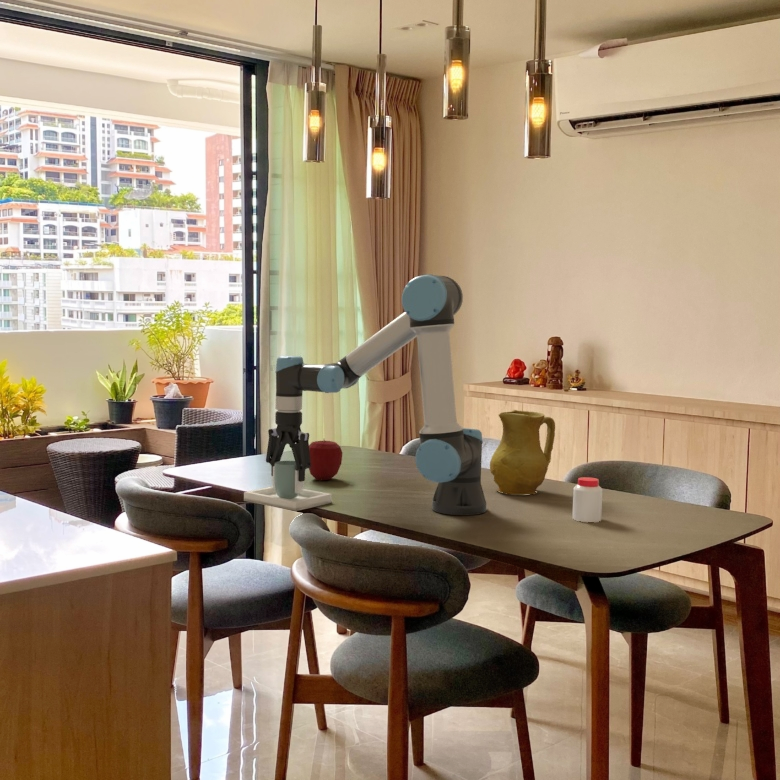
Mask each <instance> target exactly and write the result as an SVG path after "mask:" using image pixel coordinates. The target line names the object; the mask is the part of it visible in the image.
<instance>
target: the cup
mask: <svg viewBox="0 0 780 780" xmlns="http://www.w3.org/2000/svg"><path fill="white" fill-rule="evenodd" d="M296 469H297V466H296V462H295V460H280V461H278V462H275V464H274V484H275V491H276V494H277V495H278V496H279V497H280V498H285V499H292V498H295V497H297V496H298V495H299V493H295V470H296Z"/></svg>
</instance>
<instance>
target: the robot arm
mask: <svg viewBox="0 0 780 780" xmlns="http://www.w3.org/2000/svg"><path fill="white" fill-rule="evenodd" d="M463 298H464V295H463V291H462V288H461V286H460V285H459V283H458V281H455V280H454V279H453V278H451V277H449V276H445V275H435V274H423V275H419V276H415V277H414V278H412V279H410V280H409V281H408V282H407V284H406V285H405V286H404V289H403V290H402V295H401V305H402V308H403V311H404V312H403V313H401V314H400V315H398V316H397V317H395V318H394V319H393V320H392V321H391V322H389V323H388V324H387V325H385V326H384V327H382V328H381V329H380V330H379V331H377V332H376V333H374V334H373V335H372V336H370V337H369V338H368V339H366V340H365V341H363V343H361V344H360V345H358V346H356V347H355V348H354V349H353V350H352V351H350V352H348V353H347V354H346V355H345V356H343V357H342V358H341V359H339V360H338V361H336V362H332V363H325V364H309V363H304V358H303V357H302V356H301V355H300V356H297V355H280V356H278V357H277V359H276V366H275V372H274V373H275V406H274V407H275V410H276V411H275V413H274V415H275V416H274V417H275V424H276V425H277V426H276V427H275V428H269V429H268V431H267V432H268V443H267V449H266V456H265V462H266V464H269V465H270V466H271V468H270V469H271V472H270V473H271V474H270V475H271V477H272V486H273V489H275V484H274V464H275V462H278V461H282V456H283V455H284V454H283V453H284V451H285V449H286V445H289V448H290V449H291V451H292V454H293V459H294V461H295V462H296V466H297V469H296V470H295V493H301V492H303V489H304V482H305V480H306V470H307V469H309V468H310V467H311V460H310V451H309V445H310V443H309V440H310V433H309V432H303V431H302V430H301V426H302V424H303V412H302V411H301V410H303V392H307V391H308V392H317V393H318V392H319V393H325V394H331V393H333V394H334V393H335V394H336V393H339V392H340V391H341V389H349V388H351V387H353V386H355V385H356V384H357V383H359V380H360V379H361V377H363V376H364V375H365V374H367V373H368V372H369V371H371V370H372V369H374V368H375V367H377V366H378V365H379V364H381V363H382V362H384V361H385V360H386V359H388V358H389V357H391V356H392V355H393V354H394V353H397V351H399V350H400V349H402V348H403V347H404V346H406V345H407V344H409V343H410V342H412V340H414V339H416V342H417V355H418V356H417V357H418V366H419V376H420V377H419V378H420V379H419V381H420V388H421V389H420V390H421V401H422V402H421V403H422V412H423V415H422V416H423V426H422V427H421V428H420V429H419V432H418V433H419V446H418V448H417V450H416V452H415V461H414V462H415V466H416V468H417V470H418V472H419V474H420V475H422V477H424V479H427V481H430V482H433V483H437V485H436V488H435V491H434V494H433V496H432V497H433V498H432V501H431V509H432V511H434V512H436V513H439V514H443V515H452V516H475V515H480V514H484V513H486V512H487V501H486V497H485V494H484V490H483V487H482V483H481V482H482V481H481V480H482V477H481V476H482V453H483V451H482V450H483V449H482V448H483V444H484V443H483V433H482V432H481V430H480V429H477V428H466V427H465V428H464V427H462V426H461V424H459V423H458V422H457V411H456V400H455V399H456V397H455V387H454V373H453V364H452V363H453V361H452V350H451V349H452V348H451V340H450V339H451V338H450V332H451V329H452V328H454V326H455V315H456V314H457V313H458V312H459V311H460V309H461V307H462V305H463V302H464V301H463Z"/></svg>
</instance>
